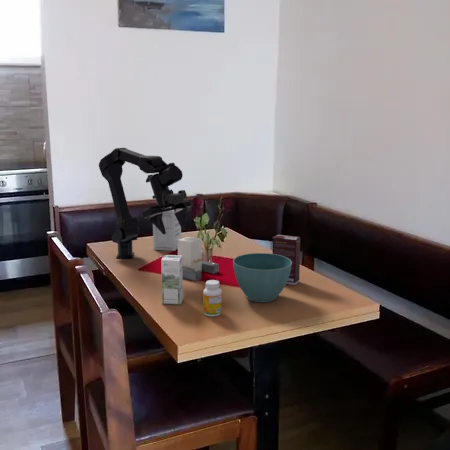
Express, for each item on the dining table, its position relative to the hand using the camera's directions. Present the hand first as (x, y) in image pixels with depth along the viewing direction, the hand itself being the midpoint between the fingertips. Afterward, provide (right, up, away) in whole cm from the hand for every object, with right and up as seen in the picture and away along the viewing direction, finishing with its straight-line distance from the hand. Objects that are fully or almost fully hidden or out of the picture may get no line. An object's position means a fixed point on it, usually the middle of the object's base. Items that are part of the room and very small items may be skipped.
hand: (174, 231), depth 205 cm
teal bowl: (+29, -21, -22) cm, 42 cm away
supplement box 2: (+39, -17, -6) cm, 43 cm away
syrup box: (+2, -22, -25) cm, 33 cm away
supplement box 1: (-6, -7, +35) cm, 36 cm away
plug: (+5, -15, +3) cm, 16 cm away
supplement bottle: (+14, -24, -34) cm, 44 cm away
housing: (+8, -15, +1) cm, 17 cm away
